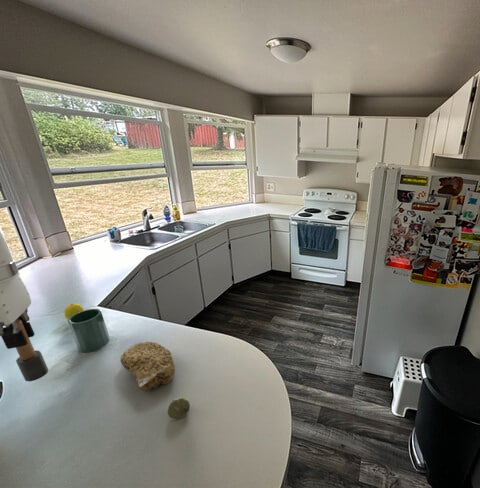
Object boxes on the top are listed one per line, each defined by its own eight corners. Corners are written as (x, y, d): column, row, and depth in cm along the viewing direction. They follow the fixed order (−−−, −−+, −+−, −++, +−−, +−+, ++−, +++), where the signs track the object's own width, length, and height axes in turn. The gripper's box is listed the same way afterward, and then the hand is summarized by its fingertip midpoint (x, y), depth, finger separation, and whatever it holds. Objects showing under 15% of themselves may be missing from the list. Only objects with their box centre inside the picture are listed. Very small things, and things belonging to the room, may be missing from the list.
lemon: (64, 324, 99) (57, 307, 96) (79, 315, 104) (73, 299, 101) (75, 326, 98) (69, 308, 95) (90, 317, 103) (84, 301, 101)
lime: (193, 409, 68) (190, 396, 67) (177, 425, 64) (173, 412, 63) (182, 402, 70) (179, 389, 68) (165, 417, 66) (162, 404, 64)
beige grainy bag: (182, 380, 78) (167, 336, 91) (173, 367, 74) (159, 322, 86) (132, 409, 71) (124, 357, 84) (120, 397, 67) (113, 344, 79)
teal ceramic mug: (74, 355, 84) (63, 326, 80) (83, 339, 91) (73, 312, 87) (106, 347, 88) (96, 319, 84) (112, 333, 95) (103, 306, 91)
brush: (21, 383, 61) (-6, 330, 55) (30, 371, 64) (5, 319, 58) (44, 378, 62) (20, 325, 57) (51, 366, 66) (29, 315, 60)
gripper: (-11, 261, 58) (18, 325, 65) (-70, 295, 45) (-26, 372, 51) (34, 256, 62) (57, 318, 68) (-9, 287, 48) (25, 360, 55)
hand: (21, 341), depth 60 cm, fingers closed on brush, 2 cm apart
